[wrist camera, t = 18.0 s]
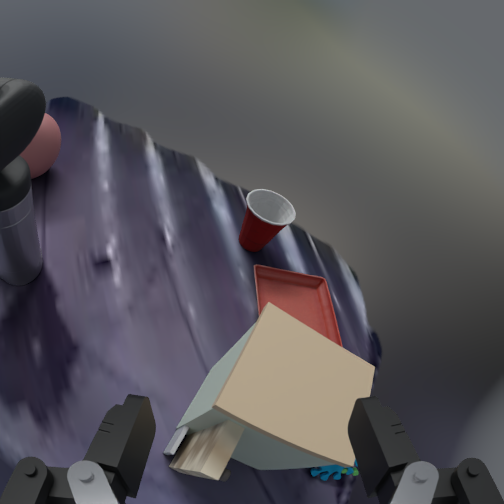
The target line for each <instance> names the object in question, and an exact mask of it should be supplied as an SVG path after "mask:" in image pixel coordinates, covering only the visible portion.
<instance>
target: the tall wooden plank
mask: <svg viewBox="0 0 504 504" xmlns="http://www.w3.org/2000/svg"><path fill="white" fill-rule="evenodd" d="M244 429H245V428H243V427H242V426H240V425H238V424H236V423H234V422H232V421H230V420H226V421H224V422H221V423H219V424H216V425H214V426H211V427H209V428H206V429H203V430H200V431H198V432H195V433H192V434H189V435H187V437H186V438H185V440H184V442H183V443H182V445H181V447H180V448H179V450H178V452H177V454H176V455H175V457H174V458H173V460H172V462H171V463H170V465H169V467H170V468H172V469H174V470H176V471H178V472H180V473H184V474H188V475H193V476H197V477H202V478H208V479H213V480H221V481H223V482H225V481H227V480H228V478H229V477H230V474H231V471H230V470H228V469H226V468H225V467H226V465H227V463H228V461H229V459H230V457H231V455H232V453H233V451H234V449H235V447H236V445H237V443H238V441H239V439H240V437H241V435H242V433H243V431H244Z"/></svg>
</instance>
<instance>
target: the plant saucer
mask: <svg viewBox="0 0 504 504" xmlns="http://www.w3.org/2000/svg"><path fill="white" fill-rule="evenodd" d="M254 275H255V284H256V294H257V303H258V313H259V316H260V314H261V312H262V310H263V308H264V307H265V306H266V304H267V303H268V302H270V303H272V304H273V305H275V306H276V307H278V308H279V309H281V310H283V311H284V312H286V313H287V314H289V315H290V316H292V317H294V318H295V319H297V320H298V321H300V322H302V323H303V324H305V325H306V326H308V327H310V328H311V329H313V330H315V331H316V332H318V333H319V334H321V335H323V336H324V337H326V338H328V339H329V340H331V341H332V342H334V343H336V344H337V345H339V346H341V347H342V342H341V338H340V333H339V329H338V325H337V321H336V317H335V313H334V309H333V304H332V301H331V297H330V293H329V289H328V286H327V282H326V280H325V279H324V278H323V277H318V276H313V275H308V274H303V273H298V272H293V271H288V270H283V269H278V268H272V267H268V266H263V265H257V264H256V265H254Z"/></svg>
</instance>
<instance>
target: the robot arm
mask: <svg viewBox="0 0 504 504" xmlns="http://www.w3.org/2000/svg"><path fill="white" fill-rule="evenodd" d="M45 109H46V101H45V97H44V94H43V92H42V90H41V89H40V88H39V87H38V86H37V85H35V84H34V83H32V82H29V81H26V80H22V79H11V78H1V77H0V278H1V279H4V280H5V281H6V282H7V283H9V284H11V285H15V286H20V285H25V284H27V283H30V282H31V281H33V280H34V279H35V278H36V277H37V276H38V274H39V273H40V271H41V268H42V264H43V261H42V253H41V249H40V244H39V238H38V232H37V226H36V220H35V212H34V205H33V196H32V186H31V174H30V168H29V165H28V163H27V162H26V161H25V160H24V158H22V157H21V156H20V154H21V153H22V152H23V151H24V150H25V149H26V147H27V146H28V145H29V144H30V143H31V141H32V140H33V138H34V137H35V135H36V133H37V132H38V130H39V128H40V126H41V124H42V121H43V118H44V115H45ZM155 431H156V424H155V419H154V416H153V412H152V408H151V405H150V401H149V398H148V397H145V396H138V395H132V394H129V395H128V396H127V398H126V400H125V402H124V404H123V406H122V405H117V404H116V405H115V406H114V407H112V408H111V409H110V410H109V411H108V412H107V413H106V415H105V417H104V419H103V421H102V423H101V425H100V427H99V431H97V433H96V435H95V437H94V439H93V441H92V443H91V445H90V447H89V449H88V451H87V453H86V455H85V457H84V459H83V460H82V461H79V462H76V463H74V464H73V465H72V466H71V467H70V468H58V467H47V466H46V465H45V464H44V462H43V461H42V460H40V459H38V458H36V457H26V458H24V459H22V460H20V461H19V462H18V464H17V466H16V468H15V469H14V471H13V473H12V475H11V477H10V480H9V481H8V483H7V485H6V487H5V489H4V491H3V494H2V496H1V498H0V504H126V503H125V499H126V496H128V497H133V498H136V496H137V492H138V489H139V485H140V482H141V479H142V475H143V472H144V469H145V465H146V462H147V459H148V455H149V452H150V449H151V446H152V443H153V439H154V436H155ZM348 437H349V440H350V443H351V446H352V449H353V452H354V455H355V459H356V462H357V465H358V468H359V471H360V474H361V477H362V481H363V484H364V487H365V490H366V493H367V497H368V498H371V497H375V496H378V500H379V502H380V503H379V504H504V501H503V499H502V497H501V495H500V493H499V491H498V489H497V487H496V485H495V483H494V481H493V479H492V477H491V475H490V473H489V471H488V469H487V467H486V466H485V464H484V463H483V462H482V461H481V460H479V459H476V458H467V459H465V460H463V461H462V462H461V463H460V464H459V465H458V467H457V468H444V469H436V468H435V467H434V466H433V465H432V464H430V463H428V462H423V461H421V460H420V459H419V457H418V455H417V453H416V451H415V449H414V447H413V445H412V443H411V441H410V439H409V437H408V435H407V433H405V429H404V427H403V425H401V421H400V420H399V418H398V416H397V414H396V413H395V412H394V411H393V410H391V409H390V408H389V407H388V406H387V407H382V406H381V404H380V402H379V400H378V398H377V397H376V396H372V397H365V398H358V399H356V401H355V404H354V407H353V411H352V414H351V416H350V419H349V422H348Z"/></svg>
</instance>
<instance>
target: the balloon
mask: <svg viewBox="0 0 504 504" xmlns="http://www.w3.org/2000/svg"><path fill="white" fill-rule="evenodd" d="M60 147H61V134H60V130H59V127H58V125H57V123H56V122H55V120H54V119H53V118H52V117H51V116H49V115H48V114H46V113H45V115H44V118H43V121H42V124H41V126H40V128H39V130H38V132H37V133H36V135H35V137H34V138H33V140H32V141H31V143H30V144H29V145H28V146H27V147H26V149H25V150H24V151H23V152H22V153H21V154H20V156H21V157H22V158H24V160H25V161H26V162H27V163H28V165H29V168H30V174H31V179H32V178H36V177H38V176H40V175H42V174H44V173H45V172H46V171H47V170H48V169H49V168H50V167H51V166H52V165H53V164H54V162H55V160H56V159H57V156H58V154H59V151H60Z"/></svg>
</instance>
